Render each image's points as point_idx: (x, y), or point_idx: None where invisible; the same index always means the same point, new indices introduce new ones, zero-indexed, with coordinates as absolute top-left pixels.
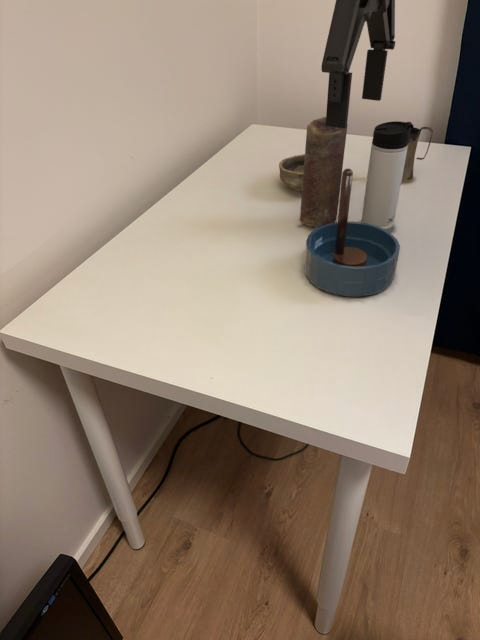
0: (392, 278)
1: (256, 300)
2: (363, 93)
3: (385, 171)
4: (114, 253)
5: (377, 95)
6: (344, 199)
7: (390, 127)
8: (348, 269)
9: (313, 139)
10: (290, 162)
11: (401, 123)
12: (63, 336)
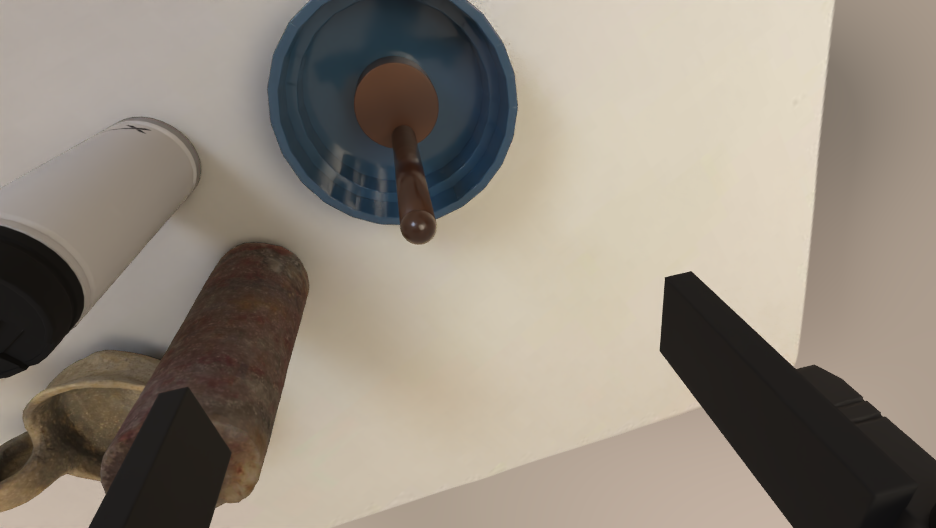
0: None
1: (588, 183)
2: (220, 473)
3: (106, 215)
4: (594, 424)
5: (185, 417)
6: (427, 186)
7: None
8: (506, 53)
9: (266, 443)
10: None
11: None
12: (782, 320)
